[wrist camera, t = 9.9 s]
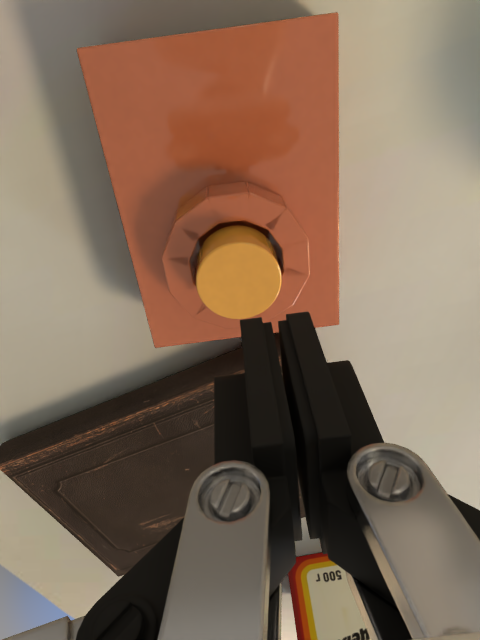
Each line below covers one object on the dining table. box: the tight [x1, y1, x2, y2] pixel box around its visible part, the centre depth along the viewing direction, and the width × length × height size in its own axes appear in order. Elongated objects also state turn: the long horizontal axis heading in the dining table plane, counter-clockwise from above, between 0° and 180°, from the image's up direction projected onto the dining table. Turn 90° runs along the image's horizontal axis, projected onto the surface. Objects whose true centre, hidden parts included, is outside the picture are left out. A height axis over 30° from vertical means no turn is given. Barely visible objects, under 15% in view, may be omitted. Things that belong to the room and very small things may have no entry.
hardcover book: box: [0, 333, 306, 576], centre depth 34 cm, size 16×23×2 cm
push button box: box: [77, 12, 339, 348], centre depth 22 cm, size 14×10×6 cm
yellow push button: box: [196, 225, 282, 319], centre depth 20 cm, size 4×4×2 cm
